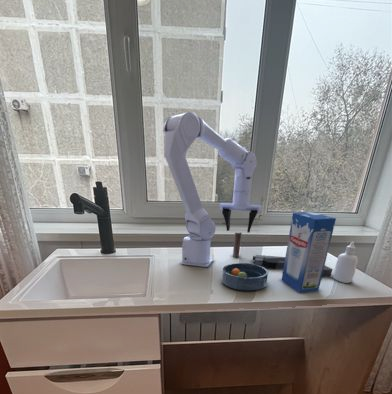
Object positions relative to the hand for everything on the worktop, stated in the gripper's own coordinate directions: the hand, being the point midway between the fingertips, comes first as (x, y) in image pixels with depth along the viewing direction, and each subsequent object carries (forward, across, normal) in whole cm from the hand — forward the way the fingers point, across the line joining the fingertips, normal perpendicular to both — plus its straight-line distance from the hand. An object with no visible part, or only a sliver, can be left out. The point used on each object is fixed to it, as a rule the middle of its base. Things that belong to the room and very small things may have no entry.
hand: (238, 231), depth 106 cm
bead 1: (+7, -4, +25) cm, 26 cm away
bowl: (+10, -7, +27) cm, 29 cm away
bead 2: (+7, -6, +27) cm, 29 cm away
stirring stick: (+9, 0, 0) cm, 9 cm away
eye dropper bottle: (+10, -36, +14) cm, 40 cm away
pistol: (+10, -20, +8) cm, 24 cm away
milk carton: (+10, -23, +23) cm, 34 cm away
